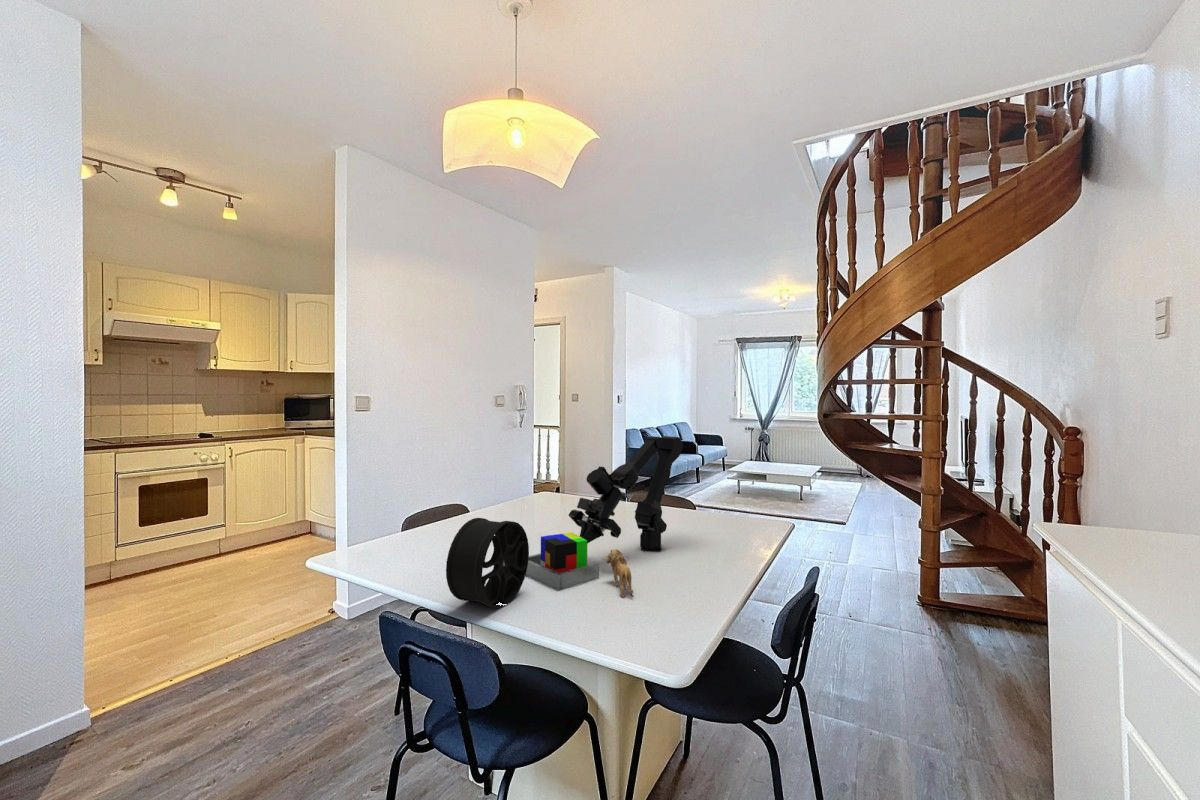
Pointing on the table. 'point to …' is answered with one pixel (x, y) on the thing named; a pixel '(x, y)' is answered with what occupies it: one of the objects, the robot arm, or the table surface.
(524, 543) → the car wheel rim
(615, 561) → the lion figurine
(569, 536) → the puzzle toy
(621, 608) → the table surface
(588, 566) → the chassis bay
